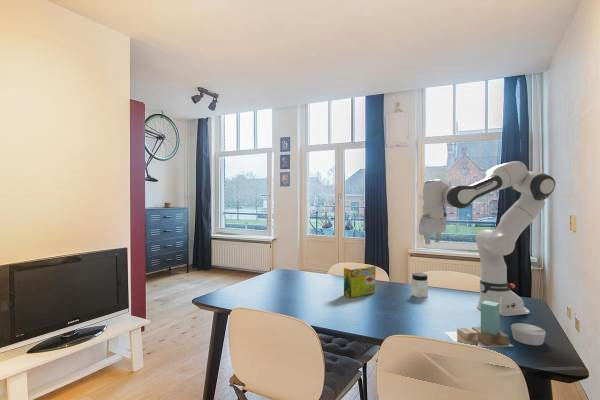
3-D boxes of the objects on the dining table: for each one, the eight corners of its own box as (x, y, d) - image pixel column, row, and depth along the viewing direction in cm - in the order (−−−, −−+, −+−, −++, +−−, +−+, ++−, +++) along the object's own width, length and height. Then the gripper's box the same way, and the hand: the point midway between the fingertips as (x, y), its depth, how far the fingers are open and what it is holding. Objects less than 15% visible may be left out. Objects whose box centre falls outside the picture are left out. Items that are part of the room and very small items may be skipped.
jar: (413, 297, 188) (413, 276, 187) (409, 293, 196) (409, 272, 196) (430, 297, 187) (430, 276, 187) (425, 293, 195) (425, 272, 195)
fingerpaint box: (367, 290, 203) (367, 263, 203) (375, 292, 197) (375, 265, 197) (342, 295, 193) (342, 267, 193) (350, 298, 187) (350, 269, 187)
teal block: (485, 327, 134) (485, 300, 134) (499, 331, 131) (499, 303, 130) (480, 331, 131) (480, 303, 131) (494, 335, 127) (495, 306, 127)
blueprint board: (491, 332, 140) (491, 330, 140) (513, 348, 126) (513, 346, 126) (443, 333, 139) (443, 331, 139) (461, 349, 125) (461, 347, 125)
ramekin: (543, 351, 123) (543, 337, 123) (508, 342, 131) (508, 329, 131) (547, 341, 132) (547, 328, 132) (513, 333, 139) (514, 320, 139)
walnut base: (494, 335, 135) (494, 326, 135) (509, 345, 126) (509, 336, 126) (472, 336, 135) (472, 327, 135) (485, 346, 126) (485, 336, 126)
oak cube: (468, 340, 131) (468, 327, 131) (477, 345, 126) (477, 332, 126) (457, 341, 130) (457, 328, 130) (466, 347, 125) (466, 333, 125)
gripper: (428, 215, 151) (428, 246, 151) (448, 213, 165) (448, 241, 165) (415, 214, 156) (415, 244, 156) (435, 212, 170) (435, 240, 170)
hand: (432, 243), depth 161 cm, fingers open, 8 cm apart
